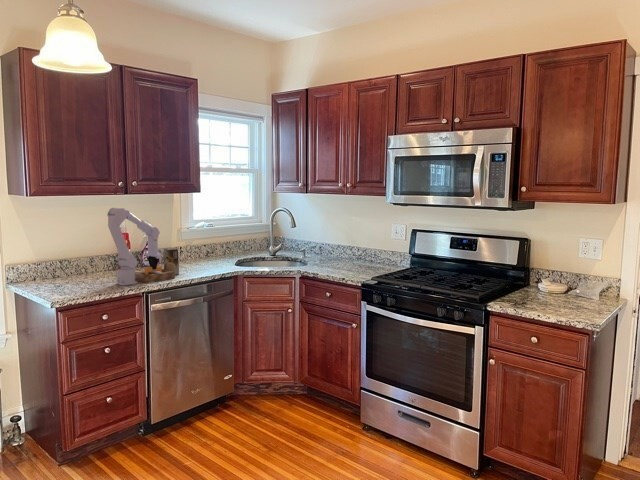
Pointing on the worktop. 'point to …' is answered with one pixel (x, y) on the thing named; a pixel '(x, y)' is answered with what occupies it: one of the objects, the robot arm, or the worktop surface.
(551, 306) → the worktop surface
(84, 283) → the worktop surface
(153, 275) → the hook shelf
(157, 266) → the orange arch block
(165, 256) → the coffee box
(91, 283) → the worktop surface
